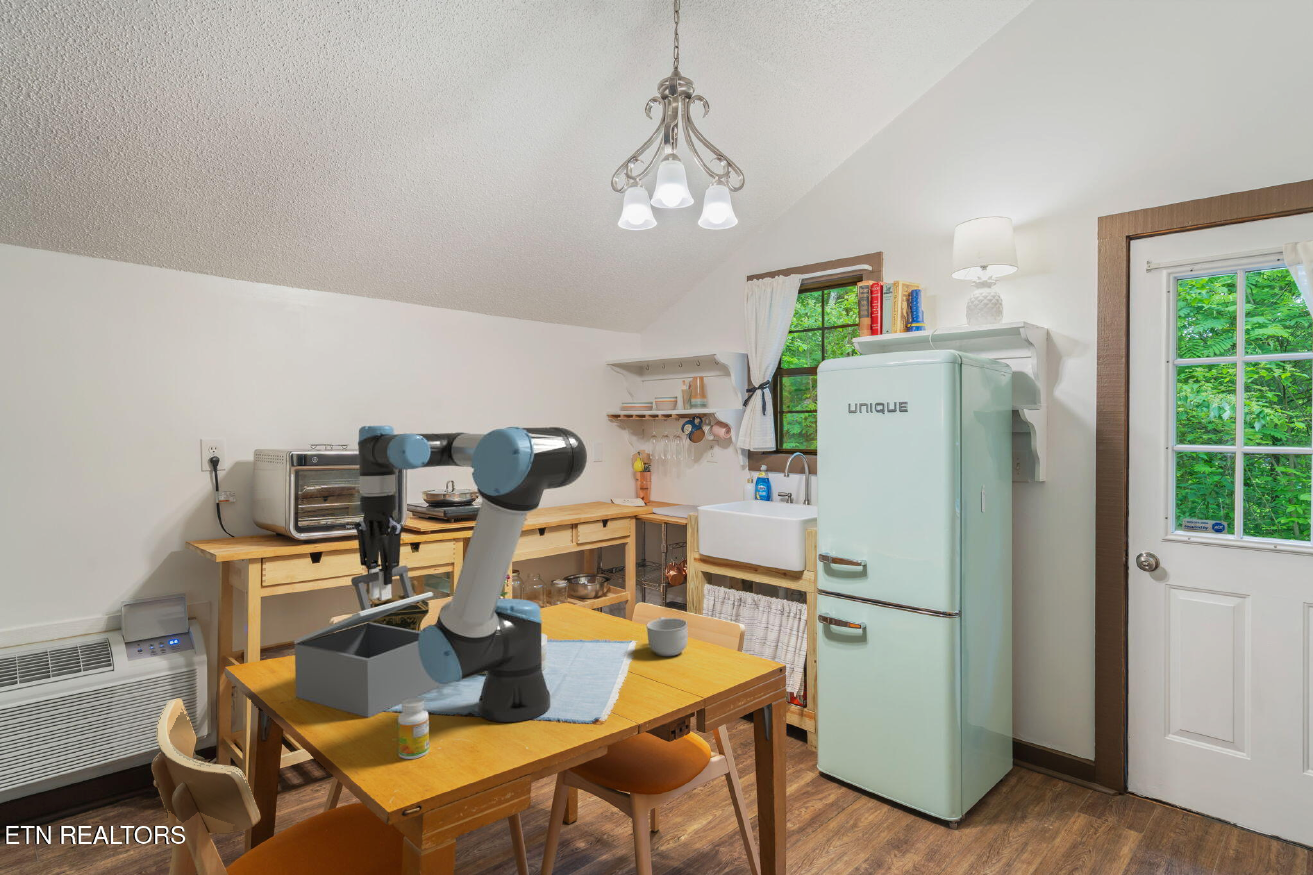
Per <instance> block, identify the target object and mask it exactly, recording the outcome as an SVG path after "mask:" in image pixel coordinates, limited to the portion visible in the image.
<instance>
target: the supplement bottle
mask: <svg viewBox="0 0 1313 875" xmlns="http://www.w3.org/2000/svg"><path fill="white" fill-rule="evenodd" d="M425 707H426V706H425V699H424V698H422V697H419V696H417V697H414V698H409V699H406V700H404V701H403V702H402V703H401V711H402V712H401V713H400V714H399V715H398V717H397V730H398V731H397V734H398V737H397V739H398V742H397V743H398V746H397V747H398V751H397V752H398V756H399V757H400V758H401V759H405V760H414V759H415V760H416V759H419V758H422V757H424V756H425V755H427V754H428V753H429V751H430V731H429V730H430V728H429V727H430V724H429V723H430V720H429V718H430V717H429V712H428V711H427V710H426V709H425Z"/></svg>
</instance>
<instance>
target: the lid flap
mask: <svg viewBox="0 0 1313 875" xmlns="http://www.w3.org/2000/svg"><path fill="white" fill-rule="evenodd" d="M408 573H409V567H408V566H407V565H399V567H396V568H393V570H392V578H396V577H399V581H400V585H401V588H402V591H403V595H405V599H404V600H400V601H396V602H393V603H389V604H386V605H382V606H379V607H375V608H371V606H370V605H371V603H370V602H371V601H370V600H369V599H368V595H367V592H366V589H367V587H366V583H371V582H375V581H379V571H378V572H374V573H369V574H368V573H365V574H361V575H357V576H353V577H352V578H351V579H350V581H351V585H352V586H353V587H354V588H355V589H356V590H355V592H356V596H357V599H358V604H359V608H360V610H361V611H358V612H355V613H353V614H351V615H350V616H348V617H346V618H344V619H342V620H339V621H337V622H334V623H332V624H329V625H327V626H325V627H322V628H320V629H318V630H315V631H312V632H310V633H308V634H306V635H303V636H301V637H298V638H297V639H294V640H293V642H294V645H295V644H298V643H301V642H304V641H308V640H311V639H314V638H318V637H321V636H324V635H328V634H331V633H335V632H338V631H341V630H345V629H348V628H351V627H355V626H358V625H361V624H365V623H368V622H370V621H372V620H375V619H377V618H380V617H382V616H384V615H387V614H389V613H392V612H394V611H397V610H399V609H402V608H404V607H407V606H409V605H411V604H414V603H416V602H419V601H421V600H426V599H428V598H430V597H433V596H434V593H433V592H432V591H430V592H426V593H425V592H424V593H422V594H419V595H416V596H414V593H415V592H414V593H413V590H412V587H411V583H412V582H411V581H410V577H409V574H408Z"/></svg>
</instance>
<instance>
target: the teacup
mask: <svg viewBox="0 0 1313 875" xmlns="http://www.w3.org/2000/svg"><path fill="white" fill-rule="evenodd" d="M646 630H647V641H648V646H649V648H650V650H651V651H652V652H654V653H655V654H656V655H658V656H661V657H674V656H677V655H679V654H681V653H682V652H683V651H684V650H685V649H686V648H687V646H688V640H689V639H688V638H689V637H688V636H689V635H688V633H689V632H688V622H687V620H685V619H682V618H677V617H665V616H661V617H659V618H658V619H653V620H651V621H649V622H648V623H647V624H646Z"/></svg>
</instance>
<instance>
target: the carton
mask: <svg viewBox="0 0 1313 875" xmlns="http://www.w3.org/2000/svg"><path fill="white" fill-rule="evenodd" d="M419 634H420V631H414V630H409V629H404V628H398V627H393V626H387V625H382V624H376V623H371V622H367V623H363V624H360V625H357V626H353V627H350V628H347V629H343V630H340V631H336V632H333V633H330V634H326V635H323V636H320V637H316V638H313V639H310V640H306V641H303V642H299V643H296V644H295V643H294V659H295V660H294V664H295V665H294V666H295V668H294V669H295V670H294V671H295V672H294V673H295V698H297V699H300V700H304V701H309V702H311V703H314V704H317V705H322V706H326V707H328V708H333V709H336V710H338V711H339V710H341V711H344V712H347V713H349V714H354V715H357V716H361V717H365V718H367V719H368V718H370V717H374V716H375V715H378V714H380V713H382V712H384V711H387V710H389V709H391V707H392V708H394V707H396V706H398V705H402V702H403V701H404V700H406V699H409V698H414V697H419V696H421V695H423V694H426V693H428V692H431V691H433V690H435V689H437V688H439V687H441V684H439V683H437V682H435V681H434V680H432V679H431V678H430V676H429V675H428V674H427V672H426V671H425V669H424V667H423V665H422V662H421V659H420V656H419V651H418V638H419ZM393 706H394V707H393ZM388 708H389V709H388Z"/></svg>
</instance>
